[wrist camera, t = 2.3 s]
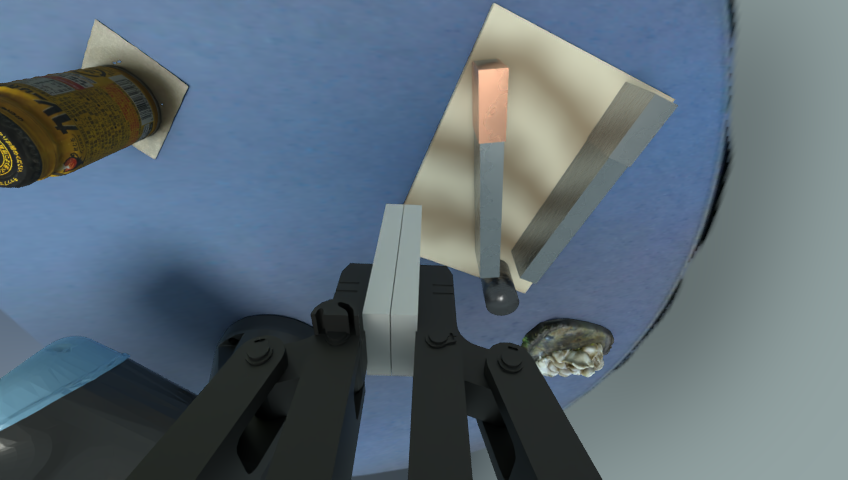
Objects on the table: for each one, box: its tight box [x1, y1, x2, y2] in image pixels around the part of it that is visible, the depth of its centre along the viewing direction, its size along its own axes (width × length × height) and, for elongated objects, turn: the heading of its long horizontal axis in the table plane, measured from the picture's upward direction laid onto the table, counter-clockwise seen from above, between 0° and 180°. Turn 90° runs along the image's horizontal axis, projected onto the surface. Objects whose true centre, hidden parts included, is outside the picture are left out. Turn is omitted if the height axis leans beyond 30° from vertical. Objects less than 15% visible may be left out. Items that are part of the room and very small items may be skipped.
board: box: [403, 3, 675, 293], centre depth 34 cm, size 23×17×1 cm
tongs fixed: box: [481, 82, 678, 316], centre depth 32 cm, size 23×4×5 cm, turn 157°
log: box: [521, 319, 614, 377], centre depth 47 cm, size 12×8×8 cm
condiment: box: [0, 19, 188, 188], centre depth 26 cm, size 7×8×12 cm
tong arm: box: [472, 59, 509, 278], centre depth 31 cm, size 18×2×5 cm, turn 5°
